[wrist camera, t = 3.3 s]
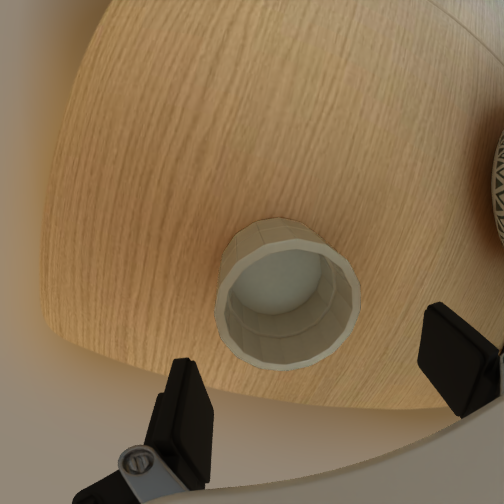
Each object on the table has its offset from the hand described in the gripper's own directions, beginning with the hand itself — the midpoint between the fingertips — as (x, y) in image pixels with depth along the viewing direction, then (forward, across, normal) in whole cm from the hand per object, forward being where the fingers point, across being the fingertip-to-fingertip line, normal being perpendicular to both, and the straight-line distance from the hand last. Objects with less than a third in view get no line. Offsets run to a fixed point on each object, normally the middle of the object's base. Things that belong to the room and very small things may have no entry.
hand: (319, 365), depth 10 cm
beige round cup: (+10, 0, 0) cm, 10 cm away
